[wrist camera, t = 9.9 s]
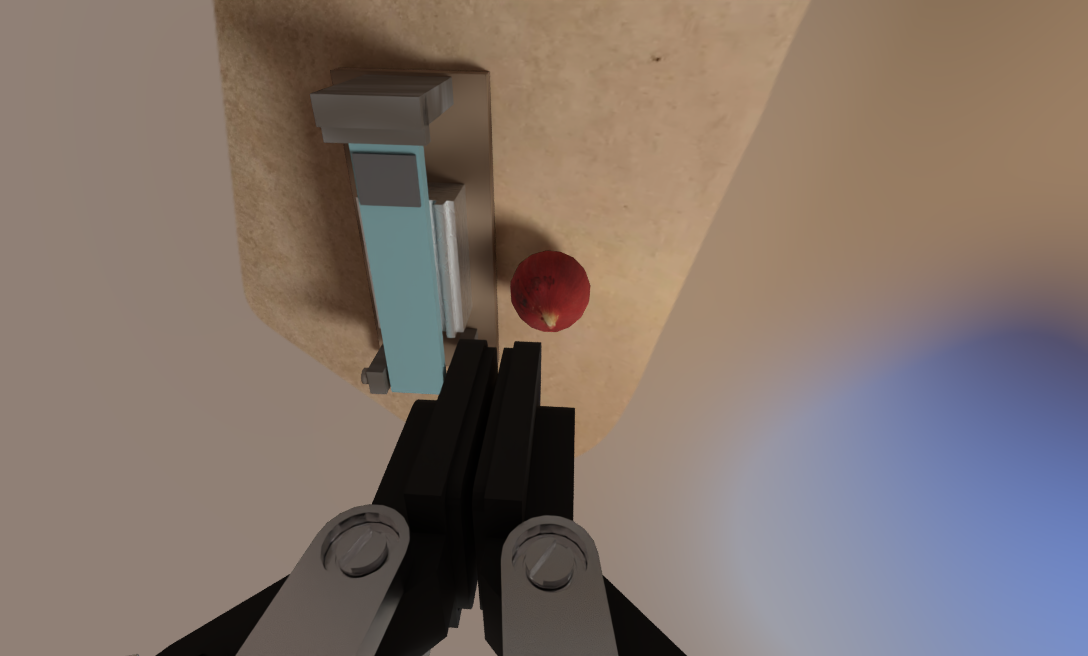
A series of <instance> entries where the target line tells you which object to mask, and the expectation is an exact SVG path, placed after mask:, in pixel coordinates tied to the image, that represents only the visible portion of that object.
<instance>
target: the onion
mask: <svg viewBox="0 0 1088 656" xmlns="http://www.w3.org/2000/svg"><path fill="white" fill-rule="evenodd" d="M510 289H511V302H512V304H513V306H514V308H515V310H516V311H517V313H518V315H519V317H520V318H521V319H522V320H523V321H524V322H525V323H527V324H528V325H529V326H530V327H532V328H534V329H537V330H540V331H543V332H558V331H560V330H563V329H566V328H568V327H570V326H571V325H572V324H574V323H575V322H576V321H577V320H578V319H580V318H581V317H582V315H583V313H584V311H585V309H586V307H587V305H588V302H589V297H590V283H589V280H588V277H587V274H586V272H585V270H584V268H583V267H582V266H581V265H580V264H579V263H578V262H577V261H576V260H575V259H574V258H573V257H571V256H569V255H567V254H564V253H562V252H557V251H543V252H539V253H536V254H532V255H531V256H529V257H528V258H527V259H525V260H524V261H523V262H521V263H520V264H519V266H518V267H517V269H516V272H515V274H514V276H513V278H512V280H511V285H510Z"/></svg>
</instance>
